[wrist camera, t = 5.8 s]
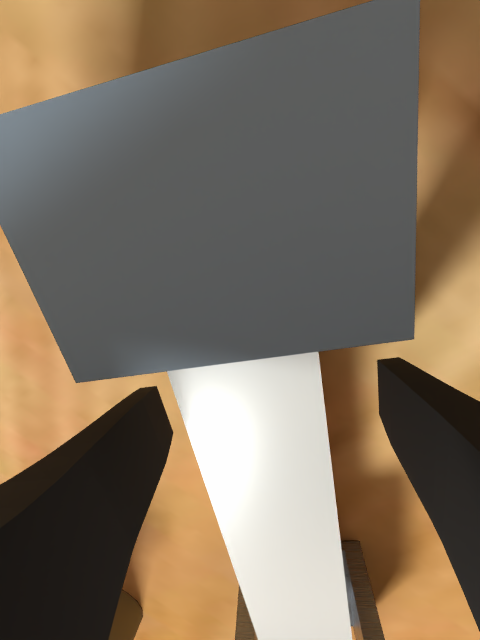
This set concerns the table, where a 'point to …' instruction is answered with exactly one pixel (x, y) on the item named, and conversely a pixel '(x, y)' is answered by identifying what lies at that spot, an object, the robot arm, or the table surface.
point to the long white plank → (271, 489)
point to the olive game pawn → (126, 618)
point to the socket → (226, 200)
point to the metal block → (357, 595)
